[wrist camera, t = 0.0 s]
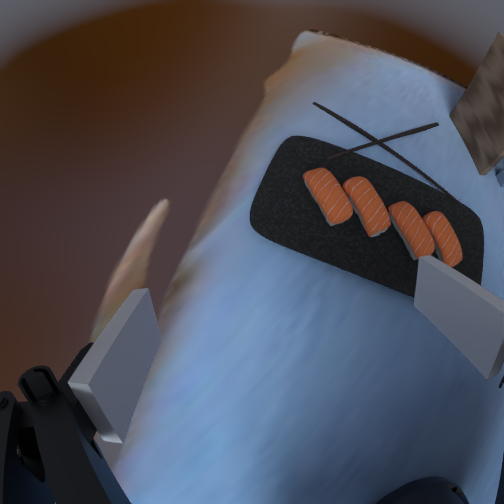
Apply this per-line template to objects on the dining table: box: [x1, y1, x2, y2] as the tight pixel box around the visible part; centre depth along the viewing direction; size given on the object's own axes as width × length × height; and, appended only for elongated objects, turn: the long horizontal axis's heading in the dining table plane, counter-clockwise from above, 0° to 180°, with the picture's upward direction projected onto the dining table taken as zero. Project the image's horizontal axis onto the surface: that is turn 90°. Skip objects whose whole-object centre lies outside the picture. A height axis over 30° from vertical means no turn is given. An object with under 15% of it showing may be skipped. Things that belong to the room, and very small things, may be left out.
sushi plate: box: [250, 102, 484, 298], centre depth 32 cm, size 29×30×4 cm
